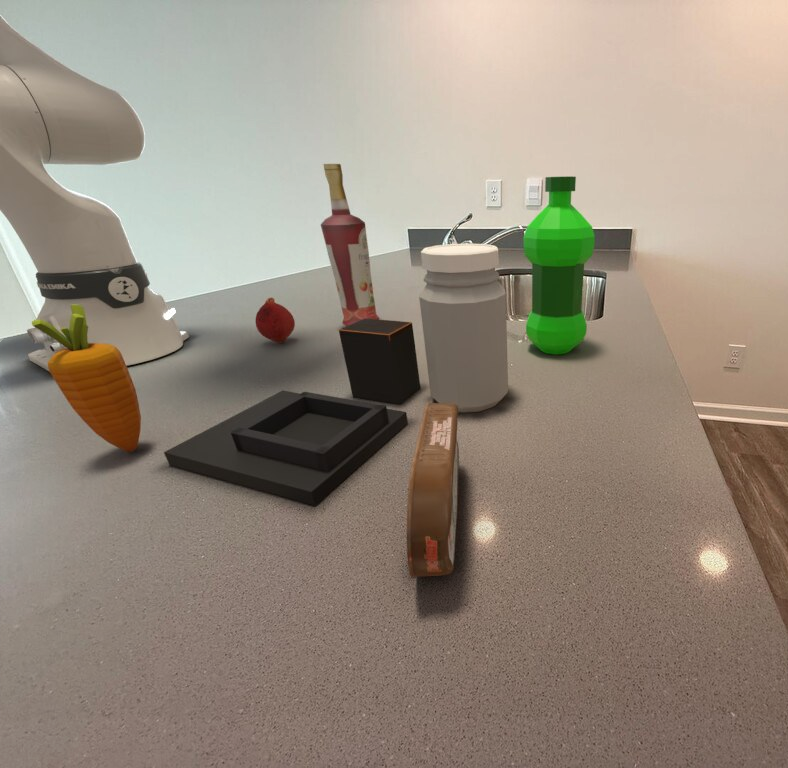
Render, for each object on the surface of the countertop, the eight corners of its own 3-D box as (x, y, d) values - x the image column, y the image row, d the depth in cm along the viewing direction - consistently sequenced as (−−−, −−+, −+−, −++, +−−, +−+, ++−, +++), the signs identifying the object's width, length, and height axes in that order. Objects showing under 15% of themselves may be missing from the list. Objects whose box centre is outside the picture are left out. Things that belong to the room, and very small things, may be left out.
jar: (425, 387, 54) (407, 245, 46) (495, 376, 57) (489, 240, 49) (439, 423, 46) (420, 257, 38) (520, 407, 49) (518, 250, 41)
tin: (432, 463, 39) (422, 384, 35) (465, 461, 39) (459, 382, 35) (410, 609, 25) (390, 505, 22) (461, 605, 25) (450, 500, 22)
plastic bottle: (548, 365, 60) (553, 175, 49) (512, 345, 68) (509, 178, 57) (600, 352, 64) (614, 175, 54) (560, 334, 73) (566, 178, 62)
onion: (283, 349, 69) (270, 302, 65) (254, 347, 70) (240, 301, 66) (306, 338, 74) (295, 294, 70) (278, 336, 75) (266, 293, 71)
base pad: (169, 465, 39) (154, 434, 38) (285, 400, 51) (278, 375, 50) (315, 505, 34) (305, 471, 32) (408, 423, 46) (403, 395, 44)
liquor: (374, 332, 76) (345, 162, 64) (336, 333, 76) (299, 163, 64) (386, 321, 83) (361, 164, 70) (350, 321, 83) (320, 166, 71)
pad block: (352, 397, 52) (338, 329, 48) (376, 381, 56) (364, 318, 52) (400, 404, 50) (389, 334, 46) (420, 387, 54) (412, 322, 50)
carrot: (110, 471, 39) (26, 318, 32) (92, 456, 41) (10, 311, 35) (171, 446, 42) (106, 304, 36) (151, 433, 45) (87, 298, 38)
